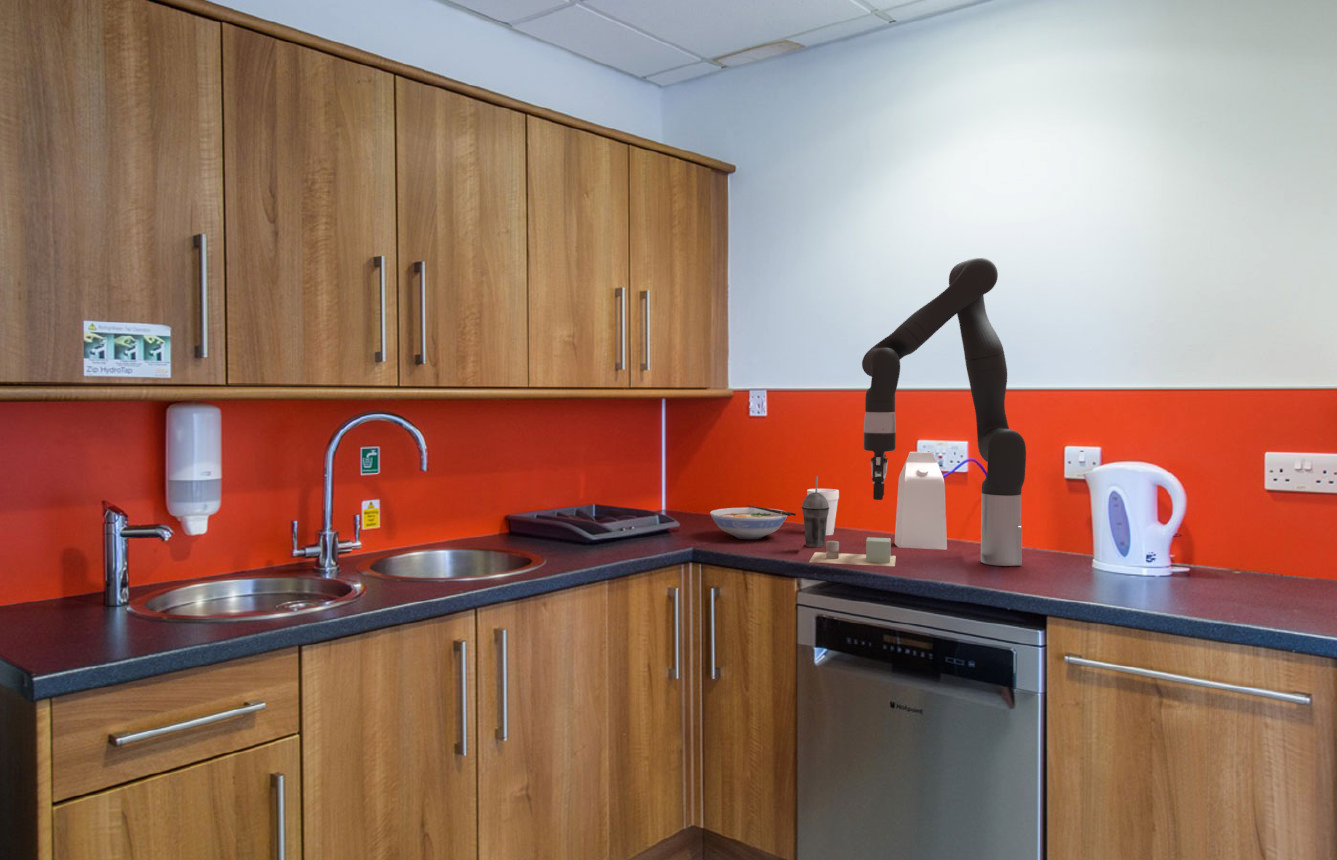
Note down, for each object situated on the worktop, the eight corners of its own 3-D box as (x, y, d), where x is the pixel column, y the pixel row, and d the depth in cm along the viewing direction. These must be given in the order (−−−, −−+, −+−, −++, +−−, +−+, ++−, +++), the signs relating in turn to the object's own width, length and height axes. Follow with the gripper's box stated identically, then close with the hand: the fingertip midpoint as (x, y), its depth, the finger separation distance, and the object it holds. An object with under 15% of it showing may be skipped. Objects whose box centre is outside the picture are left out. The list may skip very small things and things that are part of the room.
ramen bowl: (694, 534, 271) (694, 506, 270) (760, 529, 280) (760, 502, 280) (735, 547, 248) (735, 517, 248) (806, 541, 258) (806, 512, 257)
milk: (938, 544, 253) (939, 450, 252) (947, 551, 241) (948, 453, 240) (894, 543, 254) (895, 450, 253) (901, 550, 243) (902, 453, 242)
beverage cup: (797, 552, 240) (797, 476, 239) (806, 548, 246) (807, 474, 245) (824, 554, 236) (824, 478, 236) (832, 550, 243) (833, 475, 242)
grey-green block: (890, 558, 222) (890, 538, 222) (889, 562, 217) (890, 542, 217) (867, 557, 224) (867, 537, 224) (866, 561, 218) (866, 541, 218)
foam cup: (801, 532, 275) (801, 489, 274) (829, 530, 277) (829, 488, 277) (815, 536, 266) (816, 492, 265) (844, 535, 268) (844, 491, 268)
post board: (895, 561, 226) (896, 539, 226) (894, 572, 213) (894, 549, 212) (814, 558, 231) (815, 536, 231) (808, 568, 218) (809, 545, 218)
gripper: (895, 432, 211) (894, 501, 212) (896, 430, 225) (895, 495, 226) (862, 431, 213) (861, 500, 214) (865, 429, 227) (864, 494, 228)
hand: (878, 497), depth 220 cm, fingers open, 8 cm apart
